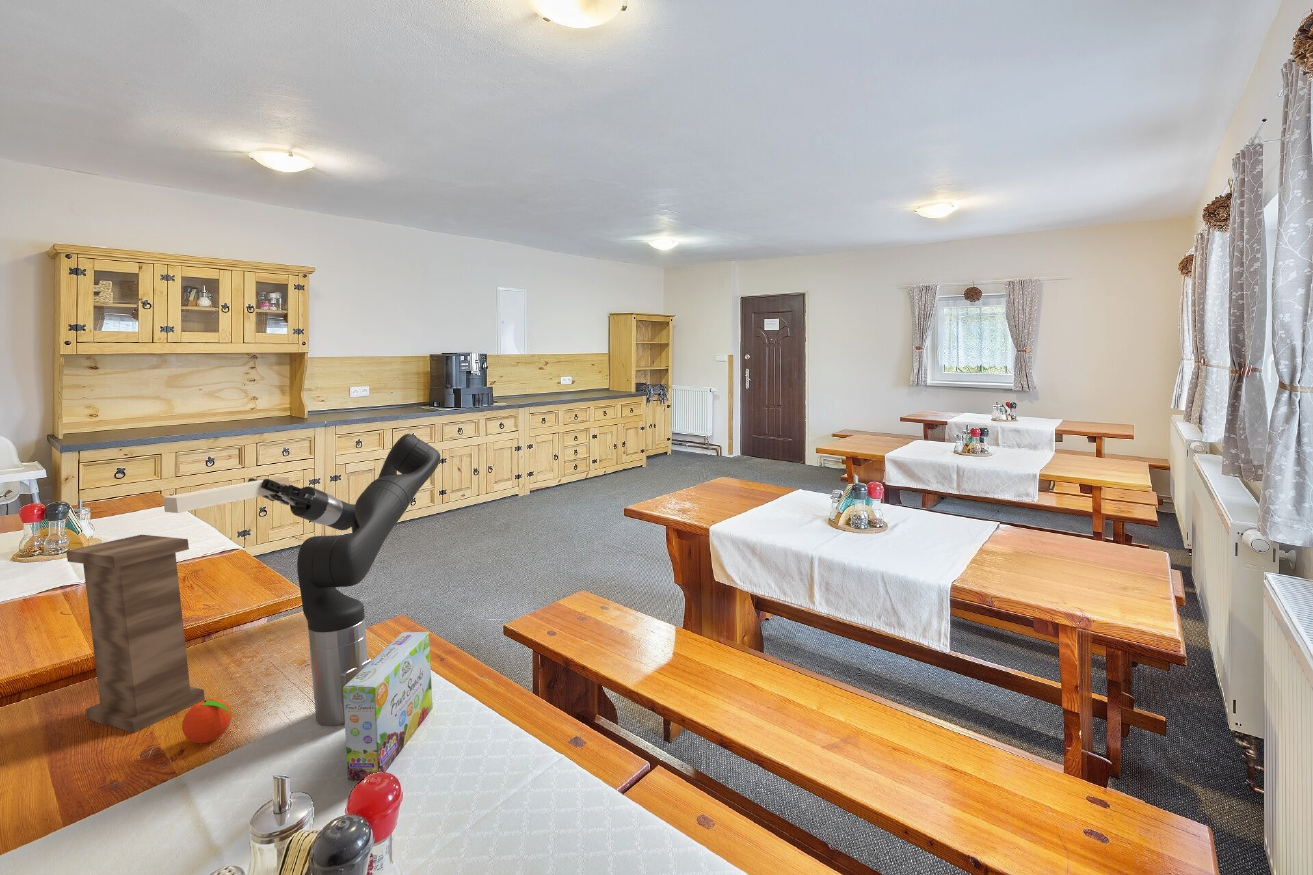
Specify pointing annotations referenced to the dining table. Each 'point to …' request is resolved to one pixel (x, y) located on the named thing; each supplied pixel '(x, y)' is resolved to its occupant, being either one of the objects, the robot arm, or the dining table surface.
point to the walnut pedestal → (136, 630)
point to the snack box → (387, 704)
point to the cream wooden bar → (218, 495)
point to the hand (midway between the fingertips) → (256, 482)
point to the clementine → (206, 721)
